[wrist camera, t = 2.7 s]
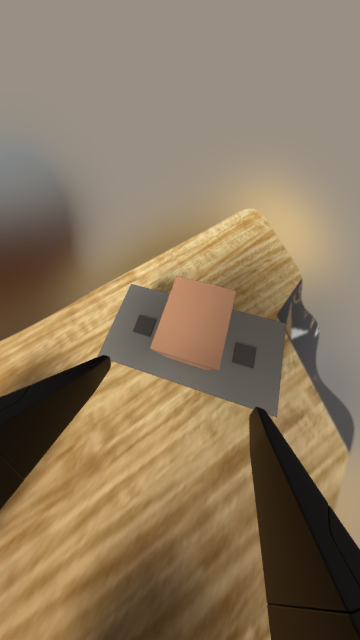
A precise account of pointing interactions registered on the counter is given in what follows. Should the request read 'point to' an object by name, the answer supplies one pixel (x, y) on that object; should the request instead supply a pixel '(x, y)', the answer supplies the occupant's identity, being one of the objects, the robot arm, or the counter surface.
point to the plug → (195, 323)
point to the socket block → (227, 383)
